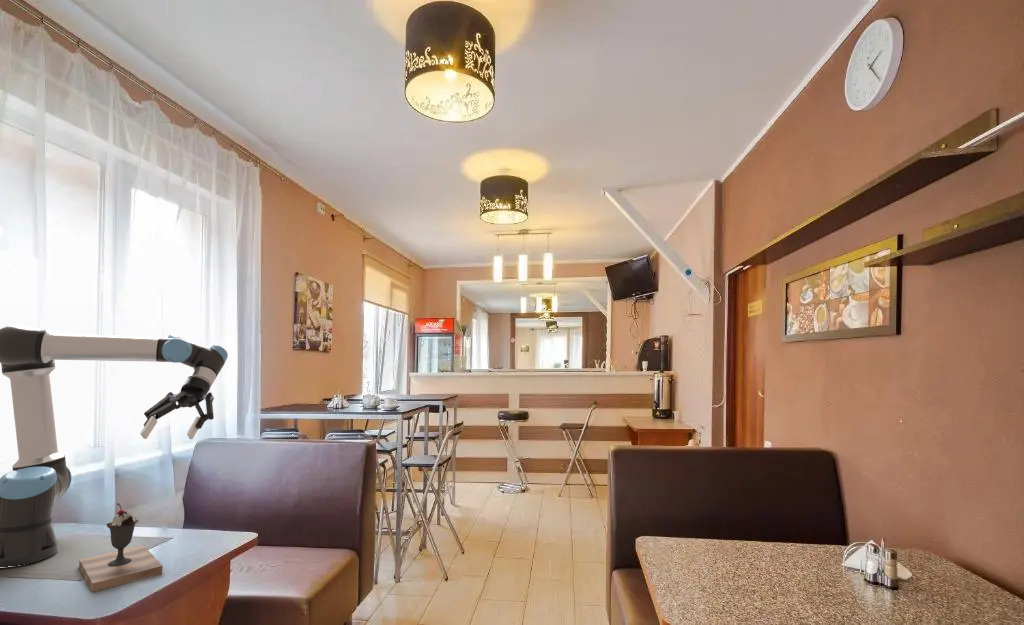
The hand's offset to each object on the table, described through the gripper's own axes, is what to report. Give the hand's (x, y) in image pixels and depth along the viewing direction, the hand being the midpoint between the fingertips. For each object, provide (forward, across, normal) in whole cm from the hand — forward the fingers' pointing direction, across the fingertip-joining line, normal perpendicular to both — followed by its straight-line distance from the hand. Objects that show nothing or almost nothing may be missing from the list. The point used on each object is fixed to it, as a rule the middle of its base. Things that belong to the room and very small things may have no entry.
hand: (166, 436), depth 150 cm
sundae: (+33, -1, -9) cm, 35 cm away
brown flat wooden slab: (+35, -1, -10) cm, 36 cm away
